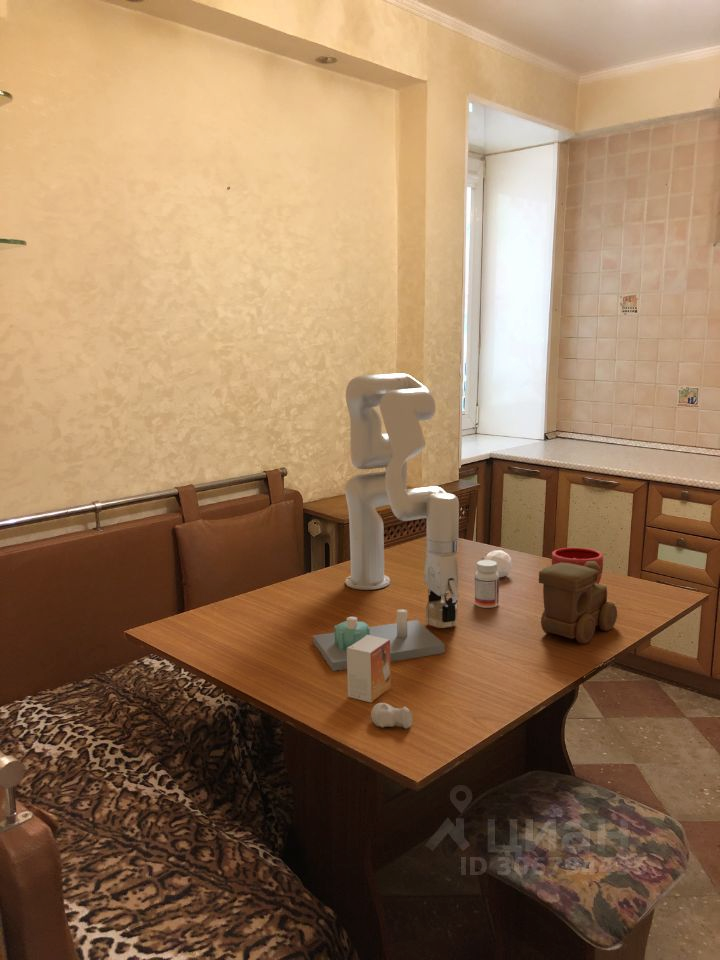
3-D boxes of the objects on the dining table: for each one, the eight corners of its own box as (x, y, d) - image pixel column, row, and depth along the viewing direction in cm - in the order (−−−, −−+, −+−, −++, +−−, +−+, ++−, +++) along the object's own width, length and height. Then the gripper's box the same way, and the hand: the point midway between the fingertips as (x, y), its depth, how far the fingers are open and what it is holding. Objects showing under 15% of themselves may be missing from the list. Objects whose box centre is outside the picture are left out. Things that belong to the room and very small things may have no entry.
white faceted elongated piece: (484, 570, 223) (470, 563, 235) (507, 585, 225) (492, 577, 236) (499, 547, 223) (484, 541, 235) (521, 562, 225) (506, 555, 237)
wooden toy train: (577, 651, 176) (579, 580, 173) (533, 638, 184) (534, 569, 181) (621, 626, 190) (624, 559, 187) (578, 615, 198) (580, 550, 195)
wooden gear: (420, 618, 195) (420, 602, 194) (449, 613, 197) (449, 598, 196) (432, 629, 188) (433, 613, 187) (462, 624, 190) (463, 609, 189)
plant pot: (612, 597, 210) (613, 553, 208) (578, 607, 203) (580, 562, 200) (573, 584, 221) (574, 542, 218) (540, 594, 213) (541, 551, 211)
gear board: (313, 643, 184) (312, 610, 182) (416, 627, 192) (416, 596, 191) (333, 671, 169) (332, 636, 168) (444, 652, 177) (444, 618, 176)
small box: (371, 703, 154) (370, 653, 152) (347, 697, 157) (345, 647, 155) (391, 687, 161) (390, 638, 159) (368, 681, 164) (367, 633, 162)
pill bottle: (485, 598, 211) (486, 557, 209) (503, 604, 206) (504, 562, 204) (469, 604, 207) (470, 562, 205) (487, 610, 202) (488, 567, 200)
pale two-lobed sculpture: (367, 730, 147) (381, 711, 151) (404, 741, 142) (417, 721, 146) (362, 712, 145) (376, 694, 149) (399, 723, 141) (413, 704, 144)
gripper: (413, 537, 195) (413, 604, 199) (443, 557, 179) (442, 630, 183) (441, 534, 197) (440, 601, 201) (473, 553, 181) (471, 626, 185)
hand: (441, 614), depth 192 cm, fingers closed on wooden gear, 7 cm apart
